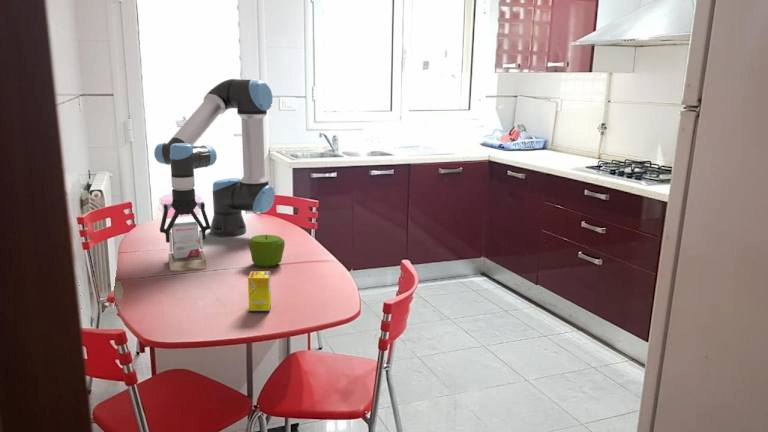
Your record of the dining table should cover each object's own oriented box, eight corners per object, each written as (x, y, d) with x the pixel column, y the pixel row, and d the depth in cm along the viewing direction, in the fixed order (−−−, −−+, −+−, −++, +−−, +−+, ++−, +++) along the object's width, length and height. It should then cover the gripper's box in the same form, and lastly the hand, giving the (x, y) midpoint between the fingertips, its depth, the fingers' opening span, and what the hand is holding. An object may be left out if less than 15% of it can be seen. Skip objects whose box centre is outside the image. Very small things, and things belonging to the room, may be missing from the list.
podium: (202, 258, 223) (202, 250, 222) (206, 268, 212) (205, 259, 212) (168, 261, 219) (168, 252, 218) (170, 271, 208) (169, 262, 207)
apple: (290, 262, 221) (290, 233, 218) (271, 272, 210) (270, 241, 208) (262, 257, 226) (262, 228, 224) (242, 266, 215) (241, 236, 213)
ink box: (197, 252, 219) (196, 221, 216) (200, 256, 215) (198, 224, 212) (172, 255, 215) (170, 223, 213) (174, 259, 211) (172, 226, 208)
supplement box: (251, 305, 180) (250, 271, 178) (271, 305, 181) (270, 270, 178) (248, 313, 174) (247, 277, 172) (269, 313, 175) (268, 277, 172)
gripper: (215, 184, 216) (217, 244, 222) (148, 187, 208) (152, 249, 213) (217, 188, 210) (219, 250, 215) (149, 191, 201) (153, 255, 207)
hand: (186, 249), depth 214 cm, fingers open, 10 cm apart
